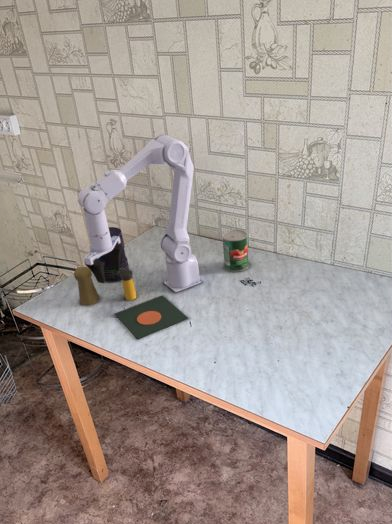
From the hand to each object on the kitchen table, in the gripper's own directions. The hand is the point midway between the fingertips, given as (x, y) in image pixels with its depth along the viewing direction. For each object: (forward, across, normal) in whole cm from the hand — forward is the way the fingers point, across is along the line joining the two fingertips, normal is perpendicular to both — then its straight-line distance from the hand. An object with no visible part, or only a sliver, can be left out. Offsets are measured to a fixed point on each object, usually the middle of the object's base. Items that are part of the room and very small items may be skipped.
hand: (109, 275), depth 148 cm
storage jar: (+10, -16, -11) cm, 23 cm away
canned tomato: (+10, -33, +26) cm, 43 cm away
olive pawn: (+10, 0, -10) cm, 14 cm away
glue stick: (+10, -6, +2) cm, 12 cm away
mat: (+10, +2, +14) cm, 17 cm away
